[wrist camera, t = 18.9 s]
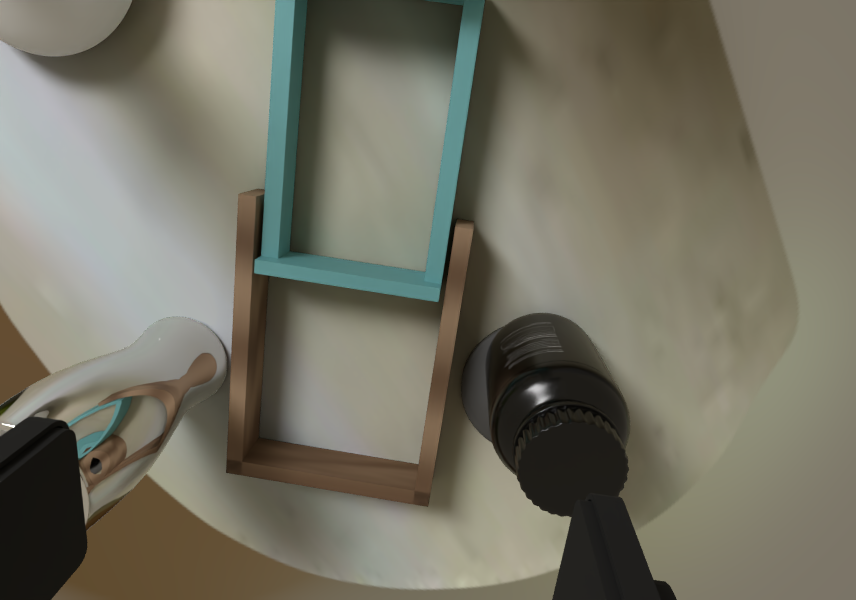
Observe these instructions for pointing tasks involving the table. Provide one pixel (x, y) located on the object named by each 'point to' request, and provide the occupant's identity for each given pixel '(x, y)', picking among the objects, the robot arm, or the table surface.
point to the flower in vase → (59, 24)
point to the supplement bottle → (555, 412)
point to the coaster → (477, 387)
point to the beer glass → (126, 404)
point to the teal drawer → (283, 165)
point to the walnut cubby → (311, 462)
